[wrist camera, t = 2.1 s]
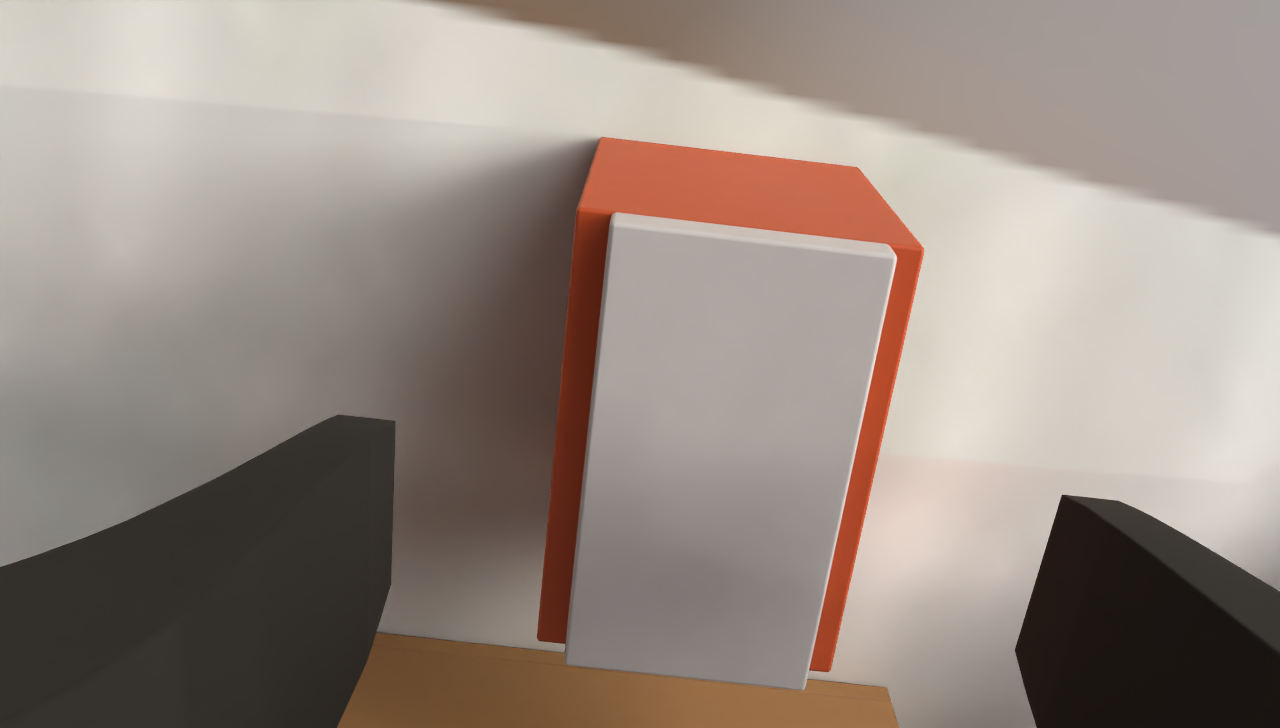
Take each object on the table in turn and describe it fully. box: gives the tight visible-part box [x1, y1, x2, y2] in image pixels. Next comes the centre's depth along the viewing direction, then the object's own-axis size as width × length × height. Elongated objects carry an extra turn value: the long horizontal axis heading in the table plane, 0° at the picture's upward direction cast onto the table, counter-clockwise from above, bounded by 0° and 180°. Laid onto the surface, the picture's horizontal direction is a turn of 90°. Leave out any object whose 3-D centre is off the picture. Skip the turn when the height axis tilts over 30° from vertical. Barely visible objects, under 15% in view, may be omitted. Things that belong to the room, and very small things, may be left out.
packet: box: [537, 137, 924, 691], centre depth 15 cm, size 4×6×5 cm, turn 173°
